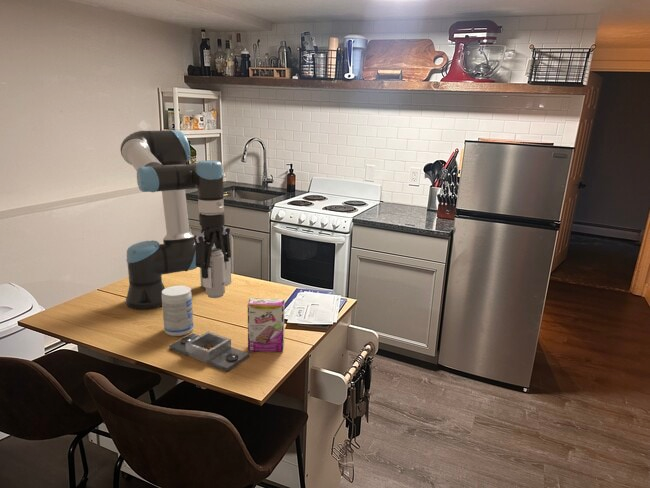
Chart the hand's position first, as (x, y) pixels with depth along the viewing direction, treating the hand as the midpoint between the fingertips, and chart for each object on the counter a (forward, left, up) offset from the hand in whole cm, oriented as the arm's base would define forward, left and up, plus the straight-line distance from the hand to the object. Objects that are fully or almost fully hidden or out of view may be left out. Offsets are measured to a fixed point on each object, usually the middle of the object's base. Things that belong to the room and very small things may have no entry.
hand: (215, 283), depth 148 cm
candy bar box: (+18, +4, -20) cm, 27 cm away
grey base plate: (+4, -8, -19) cm, 21 cm away
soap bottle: (-33, +35, -20) cm, 52 cm away
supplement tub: (-15, -3, -20) cm, 25 cm away
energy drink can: (0, 0, -4) cm, 4 cm away
